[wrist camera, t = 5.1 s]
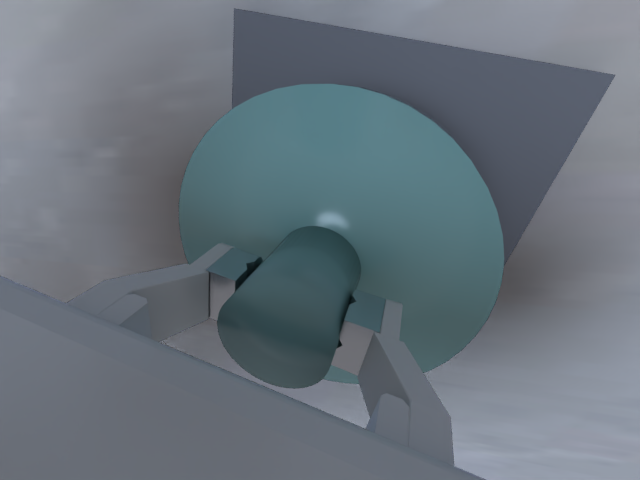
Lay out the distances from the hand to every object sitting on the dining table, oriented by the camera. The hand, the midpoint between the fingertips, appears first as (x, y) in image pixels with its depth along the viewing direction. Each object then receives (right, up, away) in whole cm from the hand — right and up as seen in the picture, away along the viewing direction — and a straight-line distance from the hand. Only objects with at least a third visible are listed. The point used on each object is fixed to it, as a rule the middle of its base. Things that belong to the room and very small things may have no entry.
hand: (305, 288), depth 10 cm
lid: (+1, +1, +2) cm, 3 cm away
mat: (+3, +3, +5) cm, 7 cm away
